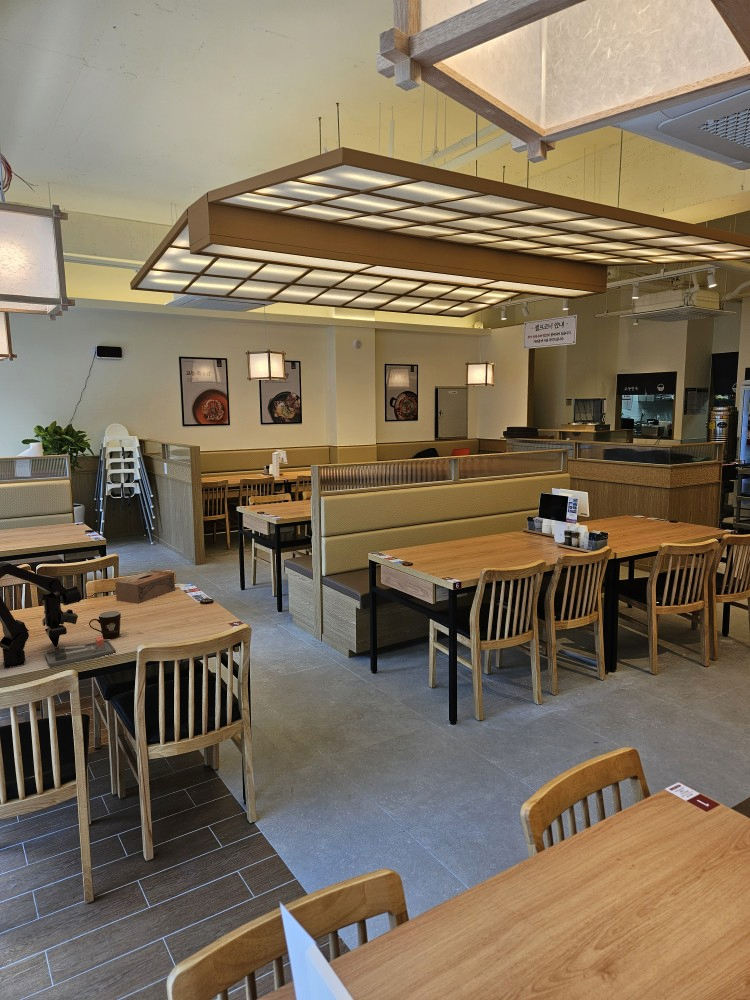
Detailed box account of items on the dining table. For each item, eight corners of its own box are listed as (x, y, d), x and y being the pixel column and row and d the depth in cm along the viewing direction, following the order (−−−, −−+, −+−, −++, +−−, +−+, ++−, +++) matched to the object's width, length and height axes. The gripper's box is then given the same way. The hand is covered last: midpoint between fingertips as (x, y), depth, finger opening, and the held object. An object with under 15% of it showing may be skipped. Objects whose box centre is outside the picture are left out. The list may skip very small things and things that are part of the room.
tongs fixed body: (55, 661, 233) (55, 656, 232) (54, 658, 236) (53, 652, 236) (105, 651, 243) (105, 645, 242) (103, 647, 246) (103, 642, 246)
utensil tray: (49, 668, 229) (49, 663, 228) (44, 656, 240) (44, 652, 240) (116, 653, 242) (115, 649, 241) (108, 643, 253) (107, 639, 253)
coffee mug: (125, 633, 265) (123, 610, 264) (117, 640, 256) (116, 616, 255) (97, 633, 265) (96, 611, 263) (89, 641, 256) (87, 617, 255)
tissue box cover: (154, 588, 336) (153, 570, 335) (175, 590, 330) (174, 572, 329) (116, 601, 313) (115, 581, 311) (138, 604, 307) (136, 584, 306)
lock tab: (97, 646, 241) (97, 640, 241) (95, 644, 244) (95, 638, 244) (104, 645, 242) (103, 639, 242) (102, 642, 245) (101, 636, 245)
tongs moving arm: (54, 654, 239) (54, 649, 239) (56, 652, 241) (55, 647, 241) (84, 652, 241) (84, 647, 241) (86, 650, 243) (85, 645, 243)
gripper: (79, 610, 240) (82, 649, 242) (71, 599, 255) (74, 635, 257) (47, 616, 234) (50, 655, 236) (40, 604, 249) (43, 641, 251)
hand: (55, 646), depth 245 cm, fingers closed
